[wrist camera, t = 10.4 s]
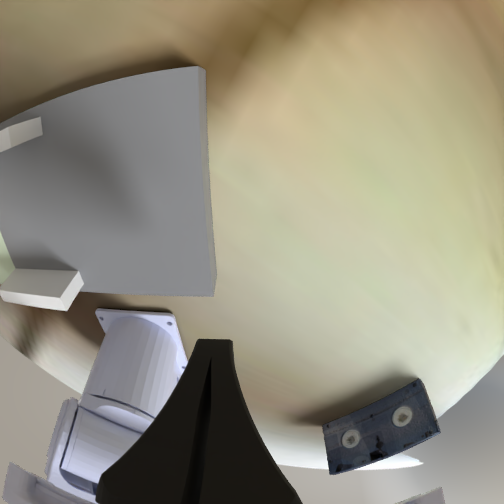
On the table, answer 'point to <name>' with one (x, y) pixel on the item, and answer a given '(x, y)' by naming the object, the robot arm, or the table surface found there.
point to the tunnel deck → (108, 193)
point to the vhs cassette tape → (380, 429)
